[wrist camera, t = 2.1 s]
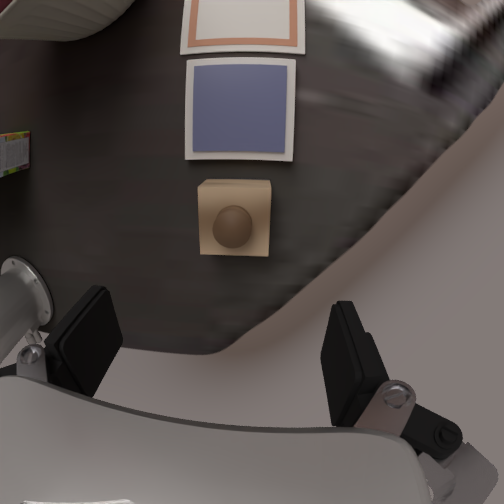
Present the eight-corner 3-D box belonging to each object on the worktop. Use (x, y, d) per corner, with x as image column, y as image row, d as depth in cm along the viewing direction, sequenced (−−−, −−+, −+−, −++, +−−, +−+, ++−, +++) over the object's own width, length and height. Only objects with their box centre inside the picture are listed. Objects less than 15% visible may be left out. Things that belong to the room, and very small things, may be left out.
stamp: (267, 236, 29) (268, 266, 23) (209, 234, 29) (195, 264, 23) (269, 178, 27) (272, 193, 20) (208, 177, 27) (192, 192, 20)
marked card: (304, 54, 21) (305, 53, 21) (180, 55, 21) (179, 54, 21) (302, -32, 16) (302, -34, 16) (189, -31, 17) (188, -32, 16)
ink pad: (291, 160, 26) (292, 161, 24) (188, 158, 26) (184, 160, 24) (294, 62, 22) (295, 58, 20) (189, 62, 22) (186, 59, 20)
